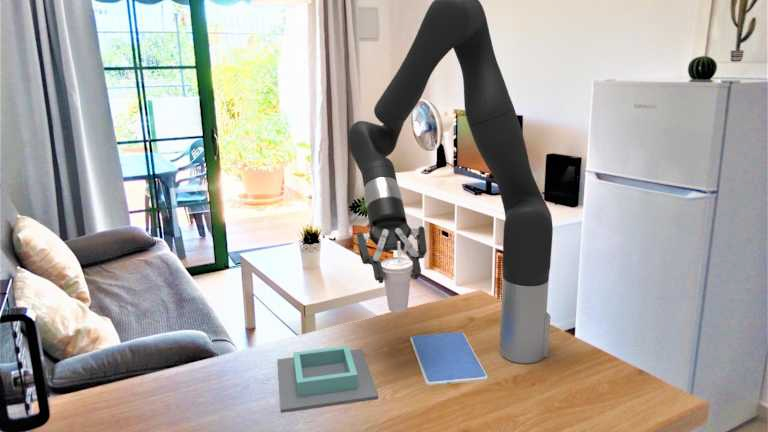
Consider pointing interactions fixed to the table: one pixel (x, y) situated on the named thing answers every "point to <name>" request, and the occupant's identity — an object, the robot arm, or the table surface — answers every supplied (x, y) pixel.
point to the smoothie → (397, 281)
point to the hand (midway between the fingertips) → (399, 279)
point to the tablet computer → (447, 359)
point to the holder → (324, 378)
